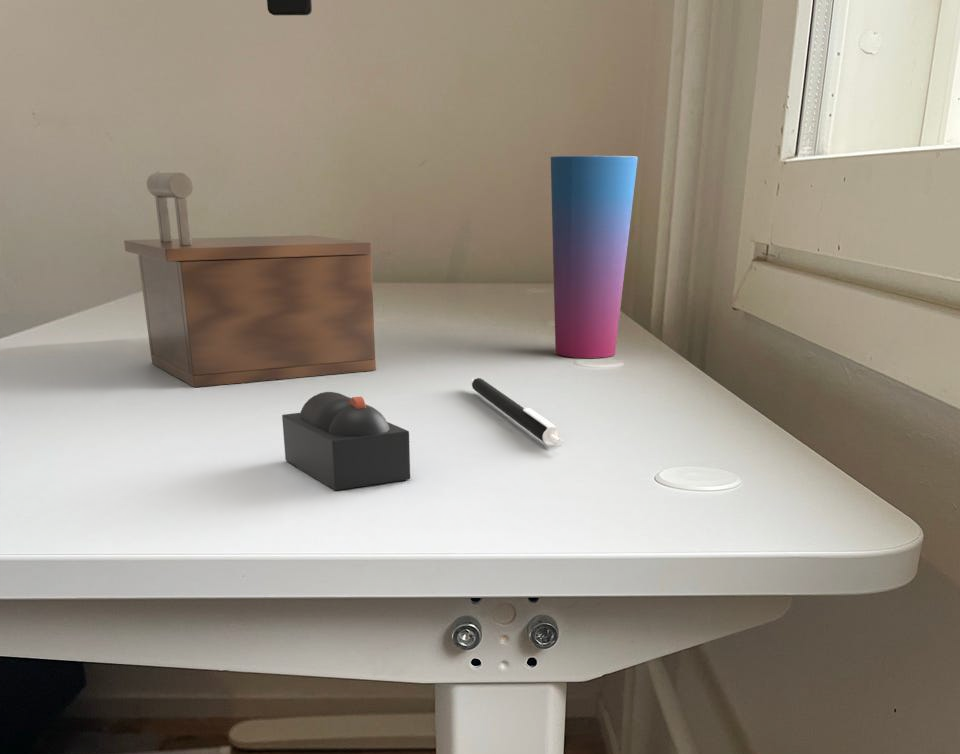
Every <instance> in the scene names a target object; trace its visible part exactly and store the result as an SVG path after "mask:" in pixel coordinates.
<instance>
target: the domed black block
mask: <svg viewBox="0 0 960 754" xmlns="http://www.w3.org/2000/svg"><path fill="white" fill-rule="evenodd" d="M281 418H282V431H283V445H284V457H285V461H286V462H288V463H289V464H291V465H293V466H295V467H296V468H298V469H299V470H301V471H303V472H304V473H306V474H308V475H310V476H311V477H313V478H314V479H316V480H318V481H319V482H321V483H322V484H325V485H326V486H327V487H329V488H331V489H333V490H334V491H341V490H348V489H355V488H361V487H367V486H375V485H380V484H387V483H394V482H395V483H396V482H400V481H401V482H402V481H407V480H410V479H411V454H410V453H411V452H410V450H411V449H410V431H409V430H407V429H405V428H403V427H401V426H398V425H395V424H393V423H391V422H388V421H387V420H386V417H385V416H384V415H383V414H382V413H381V412H380V411H379V410H377V409H376V408H374V407H372V406H371V405H368V404H366V402H365V399H364V397H362V396H353V397H349V396H347V395H344V394H342V393H340V392H335V391H324V392H320V393H317V394H315V395H313V396H312V397H310V398H309V399H307V401H306V402H305V403H304V404H303V406H302V408H301V409H300V412H294V413H284V414H282V415H281Z"/></svg>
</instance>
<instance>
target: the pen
mask: <svg viewBox="0 0 960 754" xmlns="http://www.w3.org/2000/svg"><path fill="white" fill-rule="evenodd" d="M470 382H471V387H472V389H473V390H474V391H475V392H476V393H478V394H479V395H481V396H482V397H483V398H484V399H486V400H487V401H488V402H490V403H491V404H492V405H494V406H495V407H496V408H497V409H499V410H501V411H502V412H503V413H504V414H506V415H507V416H509V417H510V419H512V420H514V421H515V422H516V423H518V424H519V425H520V426H521V427H523V428H524V429H525V430H527V431H528V432H529V433H531V434H532V435H534V436H535V438H537V439H539V440H540V441H542V442H543V443H544V444H546V445H547V446H554V445H555V446H557V447H561V446H562V445H563V441H562V439H560V433H559V432H558V431H557V430H556V428H557V427H556V425H555V424H553V423H552V422H550V421H549V420H547V419H546V418H545V417H543V416H542V415H541V414H539V413H538V412H536V411H534V409H532V408H529V407H526V408H525V407H524V406H521V405H520V404H518V403H517V402H516V401H514V400H513V399H512V398H510V397H509V396H507V395H506V394H504V393H503V392H501V391H500V390H499V389H497V388H496V387H494V385H491V384H490V383H489V382H487V381H485V380H484V379H483V378H481V377H475V378H471V379H470Z"/></svg>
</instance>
